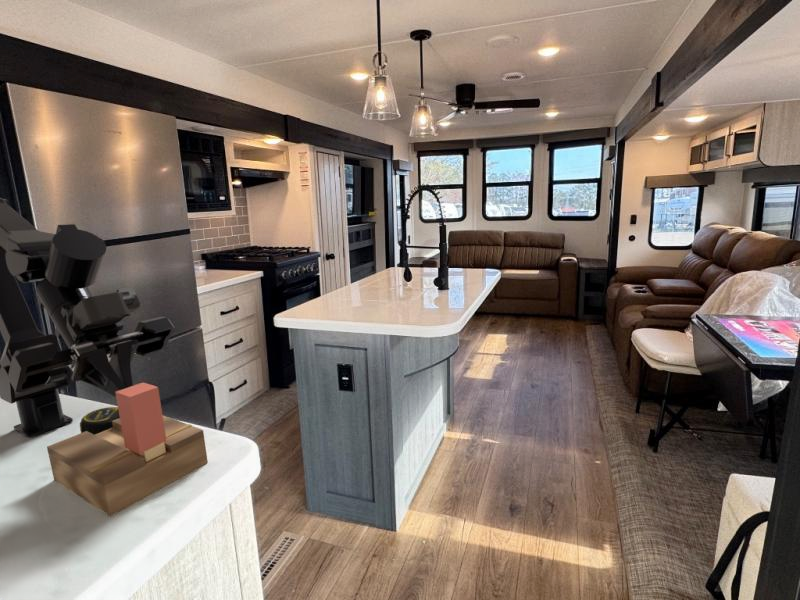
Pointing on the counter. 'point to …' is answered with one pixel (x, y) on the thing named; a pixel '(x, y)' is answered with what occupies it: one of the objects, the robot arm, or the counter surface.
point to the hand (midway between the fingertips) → (130, 400)
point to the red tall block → (142, 420)
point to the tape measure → (99, 420)
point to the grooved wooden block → (124, 464)
